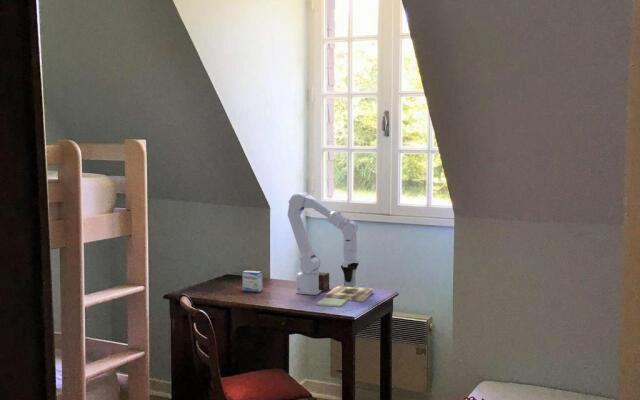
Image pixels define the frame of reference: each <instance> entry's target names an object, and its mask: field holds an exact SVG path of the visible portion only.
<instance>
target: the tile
mask: <svg viewBox="0 0 640 400" xmlns="http://www.w3.org/2000/svg"><path fill="white" fill-rule="evenodd" d="M348 302H349V300H348V299H335V298H326V297H324V298H322V299H321V300H320V301H318V302H317V303H316V306H322V307H323V306H324V307H336V308H341V307H343V305H345V304H346V303H348Z"/></svg>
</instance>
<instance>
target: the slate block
mask: <svg viewBox="0 0 640 400" xmlns="http://www.w3.org/2000/svg"><path fill="white" fill-rule="evenodd" d="M356 272H357V269H353V272H352V278H351V282H346V281H345V276H344V275H343V286H344V287H356V280H357V279H356V277H357V275H356Z"/></svg>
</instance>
